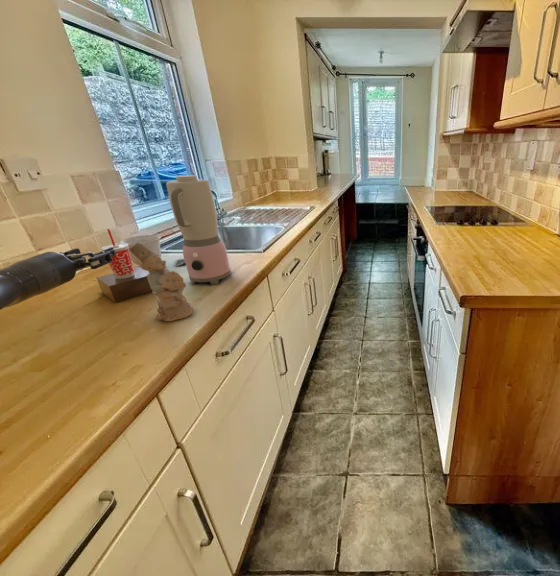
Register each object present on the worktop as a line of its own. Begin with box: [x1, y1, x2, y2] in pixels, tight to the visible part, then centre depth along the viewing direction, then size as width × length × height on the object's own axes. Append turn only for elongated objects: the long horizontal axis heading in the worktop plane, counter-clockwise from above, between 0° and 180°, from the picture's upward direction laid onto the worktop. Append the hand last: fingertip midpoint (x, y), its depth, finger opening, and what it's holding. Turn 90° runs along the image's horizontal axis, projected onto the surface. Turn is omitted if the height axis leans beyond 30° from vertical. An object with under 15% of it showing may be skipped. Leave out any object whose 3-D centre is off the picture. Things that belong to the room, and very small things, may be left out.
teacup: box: [111, 234, 162, 268], centre depth 113 cm, size 12×15×10 cm
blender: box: [165, 174, 232, 286], centre depth 97 cm, size 16×12×32 cm
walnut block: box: [96, 266, 153, 303], centre depth 95 cm, size 11×11×5 cm
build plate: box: [176, 258, 186, 267], centre depth 120 cm, size 12×7×5 cm, turn 117°
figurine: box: [129, 242, 194, 322], centre depth 78 cm, size 9×8×20 cm
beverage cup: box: [100, 228, 135, 279], centre depth 91 cm, size 6×6×14 cm
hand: (96, 251), depth 84 cm, fingers open, 8 cm apart
